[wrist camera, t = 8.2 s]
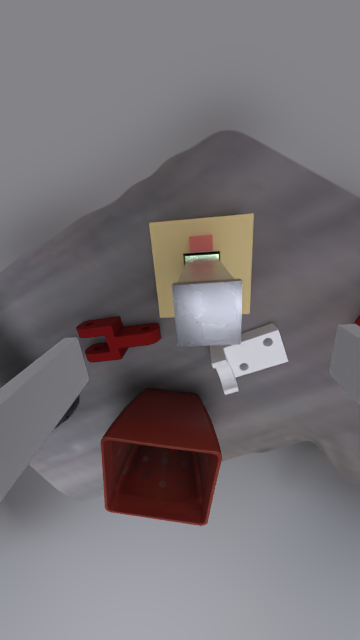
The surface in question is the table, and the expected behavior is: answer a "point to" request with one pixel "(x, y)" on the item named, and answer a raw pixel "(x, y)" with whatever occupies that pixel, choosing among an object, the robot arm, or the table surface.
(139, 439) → the plant pot
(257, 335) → the bracket
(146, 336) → the mechanical linkage
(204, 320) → the column
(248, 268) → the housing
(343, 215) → the table surface
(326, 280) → the table surface
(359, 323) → the paper cup
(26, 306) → the table surface
